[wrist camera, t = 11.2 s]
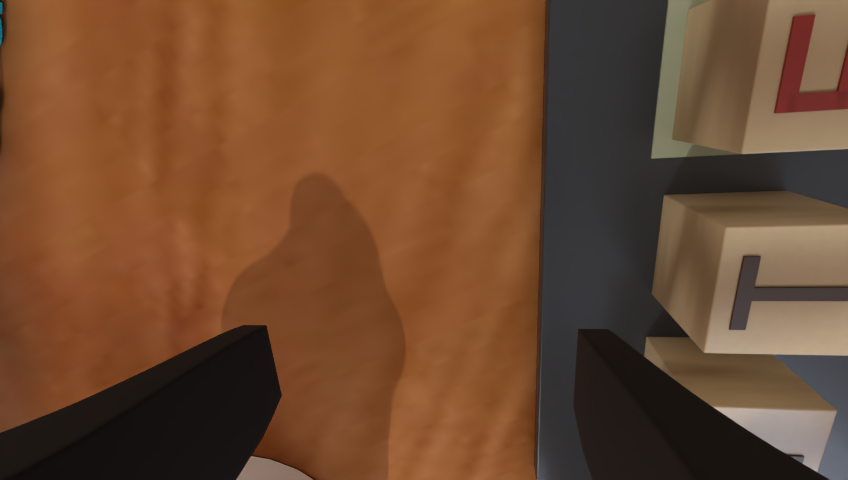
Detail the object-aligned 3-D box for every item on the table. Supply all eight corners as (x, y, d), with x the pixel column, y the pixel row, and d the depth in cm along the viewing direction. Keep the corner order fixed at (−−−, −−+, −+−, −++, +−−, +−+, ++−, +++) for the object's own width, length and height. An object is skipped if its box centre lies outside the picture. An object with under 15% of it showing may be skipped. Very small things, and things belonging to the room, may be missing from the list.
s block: (801, 133, 14) (929, 145, 10) (671, 139, 15) (742, 154, 11) (832, -5, 13) (994, -54, 9) (687, 9, 13) (776, -30, 9)
